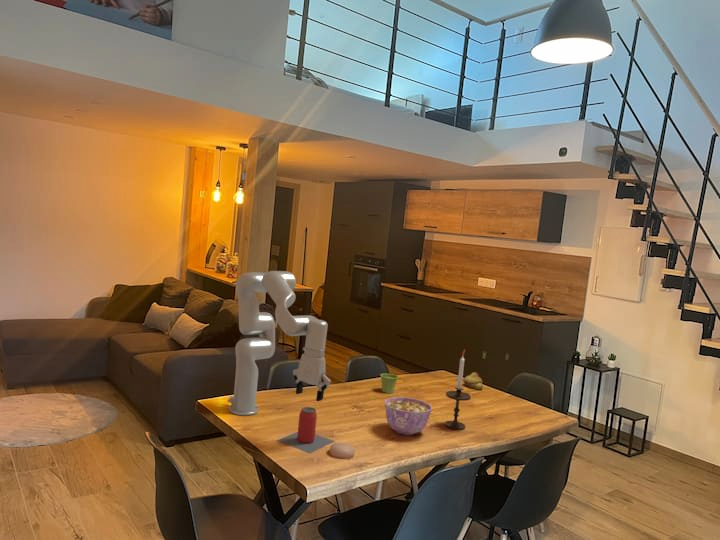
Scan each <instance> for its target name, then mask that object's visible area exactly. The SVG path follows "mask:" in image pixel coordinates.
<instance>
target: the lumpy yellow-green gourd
mask: <svg viewBox="0 0 720 540" xmlns="http://www.w3.org/2000/svg"><path fill="white" fill-rule="evenodd" d="M463 383H464V385H465V386H467V387H468V388H471V389H473V390H483V387H484V384H483V379H482V377H480V376H479V374H478V372H476V371H474V372H471V374H469V375H466V376H465V377H464V379H463Z"/></svg>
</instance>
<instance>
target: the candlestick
mask: <svg viewBox="0 0 720 540" xmlns="http://www.w3.org/2000/svg"><path fill="white" fill-rule="evenodd" d="M465 353H466V349H464V350H463V351H462V353H461V355H462V356H461V358H460V359H459V365H458V366H459V368H458V377H457V385H456V387H454V389H455V390H448V391H446V393H445V396H446V397H447V398H449V399H452V400H455V408H453V412H454V413H453V417H454V418H453V420H446V421H445V422H444V426H445V427H446V428H448V429H450V430H453V431H454V430H455V431H463V430H465V429H466V425H465V423H463V422H460V421H458V417H459V416H460V415H459V413H460V411H461V409H460V408H459V407H460V406H459V405H460V402H462V401H463V402H464V401H470V400H472V398H471V397H472V396H471V395H470V394H469V393H466V392H464V388H462V385H463V376H464V367H465V360H466V359H465V358H464V355H465Z"/></svg>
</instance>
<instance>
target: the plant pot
mask: <svg viewBox="0 0 720 540" xmlns="http://www.w3.org/2000/svg"><path fill="white" fill-rule="evenodd" d="M398 378H399V375H396V374H393V373H380V379H381V392H383V393H385V394H392V393H394V392H395V391H394V390H395V387H396V384H397V381H398Z"/></svg>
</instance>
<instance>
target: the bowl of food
mask: <svg viewBox="0 0 720 540" xmlns="http://www.w3.org/2000/svg"><path fill="white" fill-rule="evenodd" d="M384 409H385V416H386V421H387V424H388V426H389V427H390V428H391V429H393V431H396V432H397V433H398V434H401V435H403V436H404V435H405V436H412V435H415V434H417V433H420V432H422V431H423V430H424V429H425V428H426V426H427V424H428V421H429V418H430V415H431V413H432V410H433V406H432V405H431V404H430V403H428V402H427V401H426V402H425V401H424V400H420V399H417V398H413V397H412V398H411V397H404V396H402V397H400V396H399V397H397V396H395V397H390V398H387V399H385V400H384Z"/></svg>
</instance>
